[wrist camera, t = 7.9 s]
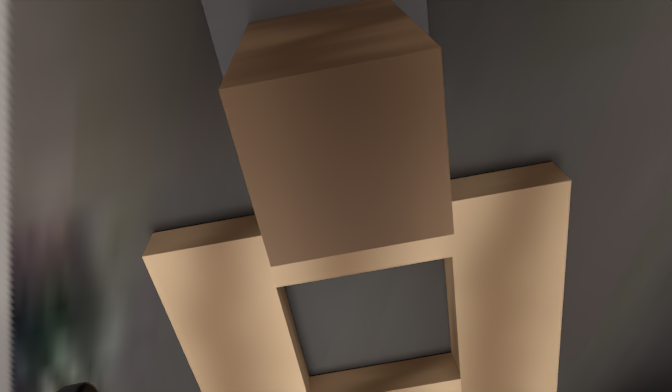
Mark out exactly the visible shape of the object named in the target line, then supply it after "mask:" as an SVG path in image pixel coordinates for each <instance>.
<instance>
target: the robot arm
mask: <svg viewBox="0 0 672 392" xmlns="http://www.w3.org/2000/svg"><path fill="white" fill-rule="evenodd" d="M57 392H98V390H97V389H96V387H95V386H94V385H93V384H91V383H89V382H83V383H78V384H74V385H69V386H65V387H63V388H61V389H59V390H58V391H57Z"/></svg>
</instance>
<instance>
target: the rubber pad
mask: <svg viewBox="0 0 672 392" xmlns="http://www.w3.org/2000/svg"><path fill="white" fill-rule="evenodd" d="M359 1H364V0H201V2H202V5H203V9H204V13H205V16H206V20H207V23H208V27H209V30H210V34H211V37H212V41H213V44H214V48H215V51H216V55H217V58H218V62H219V65H220V69H221V73H222V76H223V78H224V76H225V74H226V71H227V69H228V67H229V65H230V63H231V60H232V58H233V56H234V54H235V51H236V49H237V47H238V45H239V42H240V40H241V38H242V36H243V33H244V31H245V29H246V27H247V25H248V23H250V22H256V21H261V20H266V19H271V18H276V17H281V16H287V15H292V14H297V13H302V12H307V11H312V10H318V9H323V8H328V7H333V6H338V5H344V4H349V3H354V2H359ZM392 1H393V2H394V3H395V4H396V5H397V6H398V7H399V8H400V9H401V10H402V11H403V12H405V13H406V14H407V15H408V16H409V17H410V18H411V19H412V20H413V21H414V22H415V23H416V24H417V25H418V26H419V27H420V28H421V29H422V30H423V31H425V32H426V33H427V34H428V35H429V25H428V12H427V0H392Z"/></svg>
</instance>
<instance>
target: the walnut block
mask: <svg viewBox="0 0 672 392" xmlns="http://www.w3.org/2000/svg"><path fill="white" fill-rule="evenodd" d="M218 90H219V94H220V97H221V101H222V104H223V107H224V111H225V114H226V117H227V121H228V124H229V128H230V131H231V134H232V138H233V141H234V144H235V148H236V151H237V155H238V158H239V161H240V165H241V168H242V172H243V175H244V178H245V182H246V185H247V188H248V192H249V195H250V199H251V202H252V205H253V209H254V212H255V215H256V219H257V222H258V226H259V229H260V232H261V236H262V239H263V242H264V246H265V249H266V253H267V256H268V259H269V263H270V266H271V267H274V266H280V265H285V264H291V263H296V262H302V261H307V260H313V259H319V258H324V257H330V256H335V255H341V254H346V253H352V252H358V251H363V250H369V249H374V248H380V247H385V246H391V245H396V244H402V243H408V242H413V241H419V240H424V239H430V238H435V237H441V236H447V235H452V234H454V225H453V210H452V196H451V181H450V167H449V152H448V138H447V123H446V109H445V94H444V80H443V65H442V51H441V47H440V46H439V45H438V44H437V43H436V42H435V41H434V40H433V39H432V38H431V37H430V36H429V35H428V34H427V33H426V32H425V31H423V30H422V29H421V28H420V27H419V26H418V25H417V24H416V23H415V22H414V21H413V20H412V19H411V18H410V17H409V16H408V15H407V14H406V13H405V12H403V11H402V10H401V9H400V8H399V7H398V6H397V5H396V4H395V3H394V2H393V1H392V0H364V1H359V2H354V3H349V4H344V5H338V6H333V7H328V8H323V9H318V10H312V11H307V12H302V13H297V14H292V15H287V16H281V17H276V18H271V19H266V20H261V21H256V22H250V23H248V25H247V27H246V29H245V31H244V33H243V36H242V38H241V40H240V42H239V45H238V47H237V49H236V51H235V54H234V56H233V58H232V60H231V63H230V65H229V67H228V69H227V71H226V74H225V76H224V78H223V80H222V83H221V85H220V87H219V89H218Z"/></svg>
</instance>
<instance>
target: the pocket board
mask: <svg viewBox="0 0 672 392" xmlns="http://www.w3.org/2000/svg"><path fill="white" fill-rule="evenodd" d="M450 181H451V196H452V210H453V225H454V234H452V235H447V236H441V237H435V238H430V239H424V240H419V241H413V242H408V243H402V244H396V245H391V246H385V247H380V248H374V249H369V250H363V251H358V252H352V253H346V254H341V255H335V256H330V257H324V258H319V259H313V260H307V261H302V262H296V263H291V264H285V265H280V266H274V267H271V266H270V263H269V259H268V256H267V253H266V249H265V246H264V242H263V239H262V236H261V232H260V229H259V226H258V222H257V219H256V215H251V216H245V217H240V218H234V219H228V220H223V221H217V222H212V223H206V224H201V225H195V226H189V227H184V228H178V229H173V230H167V231H161V232H156V233H153V234H152V236H151V238H150V240H149V242H148V245H147V247H146V249H145V251H144V254H143V256H142V258H143V260H144V262H145V265H146V267H147V269H148V271H149V274H150V276H151V278H152V280H153V283H154V285H155V287H156V289H157V292H158V294H159V296H160V299H161V301H162V303H163V305H164V308H165V310H166V312H167V314H168V317H169V319H170V321H171V323H172V326H173V328H174V330H175V332H176V335H177V337H178V339H179V341H180V344H181V346H182V348H183V351H184V353H185V355H186V357H187V360H188V362H189V364H190V366H191V369H192V371H193V373H194V375H195V378H196V380H197V382H198V384H199V387H200V389H201V391H202V392H557V379H558V365H559V351H560V336H561V322H562V307H563V293H564V279H565V264H566V250H567V235H568V221H569V206H570V192H571V180H570V179H569V178H568V177H567V176H566V175H565V174H564V173H563V172H562V171H561V170H560V169H559V168H558V167H557V166H556V165H555V164H554V163H553V162H547V163H541V164H536V165H530V166H525V167H519V168H513V169H508V170H502V171H497V172H491V173H485V174H480V175H474V176H469V177H463V178H458V179H452V180H450ZM442 258H444V263H445V276H446V289H447V301H448V314H449V327H450V340H451V353H446V354H440V355H434V356H428V357H422V358H416V359H410V360H405V361H399V362H393V363H387V364H381V365H375V366H369V367H364V368H358V369H352V370H346V371H340V372H334V373H328V374H322V375H317V376H311V377H309V374H308V370H307V366H306V363H305V359H304V356H303V352H302V349H301V345H300V342H299V338H298V334H297V331H296V327H295V324H294V320H293V317H292V313H291V309H290V306H289V302H288V299H287V295H286V292H285V288H284V286H288V285H294V284H300V283H305V282H311V281H317V280H323V279H328V278H334V277H340V276H345V275H351V274H357V273H362V272H368V271H374V270H380V269H385V268H391V267H397V266H402V265H408V264H414V263H420V262H425V261H431V260H437V259H442Z"/></svg>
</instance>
